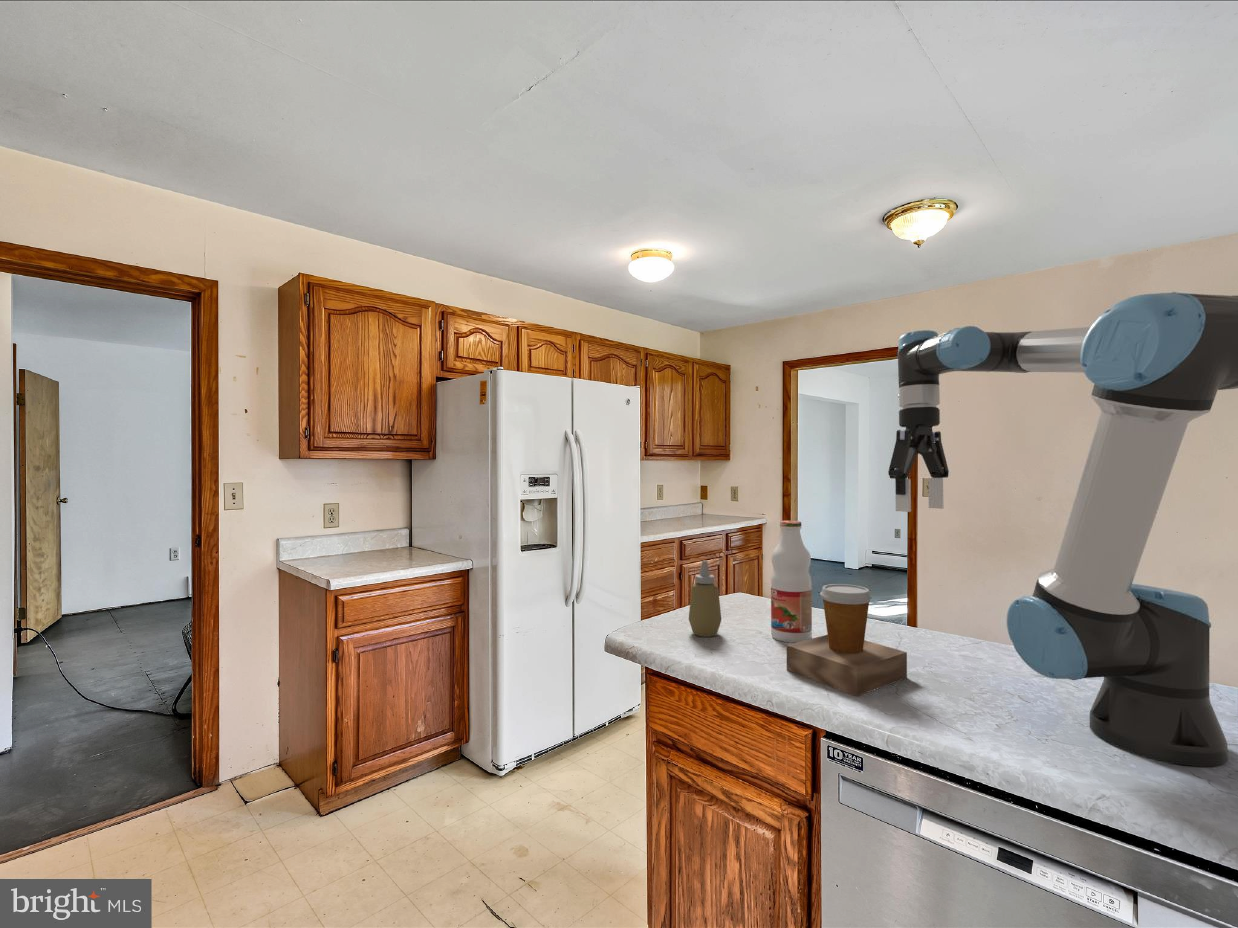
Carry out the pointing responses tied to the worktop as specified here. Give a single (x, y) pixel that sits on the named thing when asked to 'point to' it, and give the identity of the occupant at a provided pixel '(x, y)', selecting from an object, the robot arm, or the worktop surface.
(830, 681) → the walnut base
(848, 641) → the disposable coffee cup
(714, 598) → the squeeze bottle
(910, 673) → the worktop surface
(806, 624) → the fruit juice
